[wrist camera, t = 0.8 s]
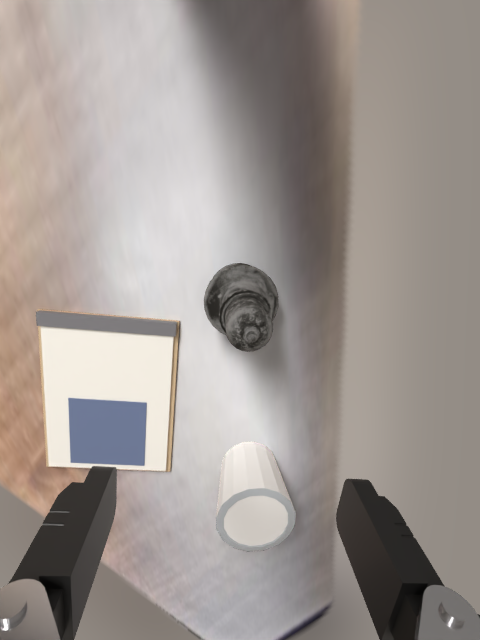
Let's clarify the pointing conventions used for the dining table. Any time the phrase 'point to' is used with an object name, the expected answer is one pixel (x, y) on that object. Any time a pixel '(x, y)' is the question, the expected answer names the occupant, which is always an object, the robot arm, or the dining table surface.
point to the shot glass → (253, 499)
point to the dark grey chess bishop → (242, 305)
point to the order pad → (107, 389)
